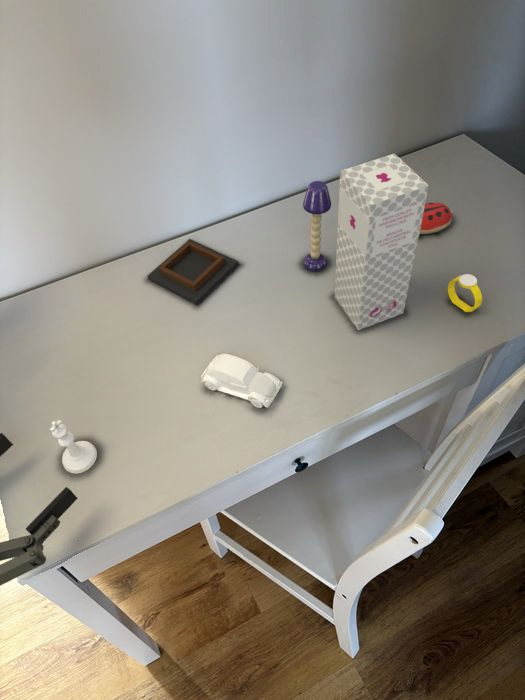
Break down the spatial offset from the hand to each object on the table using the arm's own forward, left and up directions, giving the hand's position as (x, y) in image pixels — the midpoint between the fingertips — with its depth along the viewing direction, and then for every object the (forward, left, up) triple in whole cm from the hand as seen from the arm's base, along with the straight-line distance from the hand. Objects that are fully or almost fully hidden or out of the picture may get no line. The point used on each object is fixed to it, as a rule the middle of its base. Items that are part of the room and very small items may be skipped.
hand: (38, 464), depth 71 cm
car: (+12, +28, -6) cm, 31 cm away
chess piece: (0, +5, -6) cm, 8 cm away
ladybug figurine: (+19, +77, -6) cm, 79 cm away
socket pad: (-11, +43, -6) cm, 44 cm away
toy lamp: (+7, +57, -6) cm, 57 cm away
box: (+20, +53, -6) cm, 57 cm away
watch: (+33, +61, -6) cm, 69 cm away
